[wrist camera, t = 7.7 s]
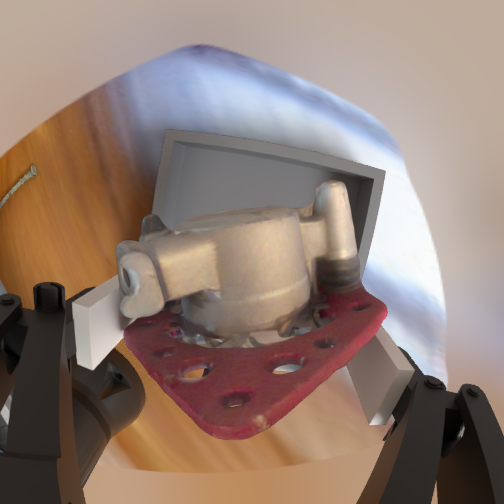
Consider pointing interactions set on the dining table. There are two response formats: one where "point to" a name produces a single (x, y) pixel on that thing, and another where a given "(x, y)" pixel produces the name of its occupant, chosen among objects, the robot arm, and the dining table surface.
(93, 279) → the dining table surface
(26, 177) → the soupspoon
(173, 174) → the parts bin
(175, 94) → the dining table surface
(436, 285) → the dining table surface
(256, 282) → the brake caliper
